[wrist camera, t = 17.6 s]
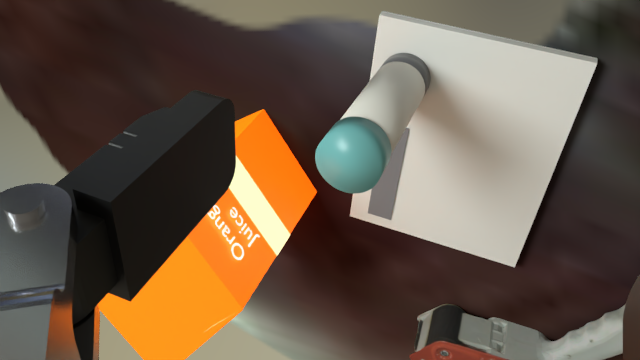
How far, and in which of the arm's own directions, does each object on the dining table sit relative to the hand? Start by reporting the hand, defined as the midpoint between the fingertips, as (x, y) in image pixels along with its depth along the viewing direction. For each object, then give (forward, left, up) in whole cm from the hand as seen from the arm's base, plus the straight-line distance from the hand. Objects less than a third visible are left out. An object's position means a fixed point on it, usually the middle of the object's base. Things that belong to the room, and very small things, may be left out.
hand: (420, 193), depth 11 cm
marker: (+5, +12, -28) cm, 31 cm away
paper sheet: (+1, +17, -29) cm, 34 cm away
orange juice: (+17, +24, -30) cm, 42 cm away
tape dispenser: (-10, +36, -30) cm, 47 cm away
